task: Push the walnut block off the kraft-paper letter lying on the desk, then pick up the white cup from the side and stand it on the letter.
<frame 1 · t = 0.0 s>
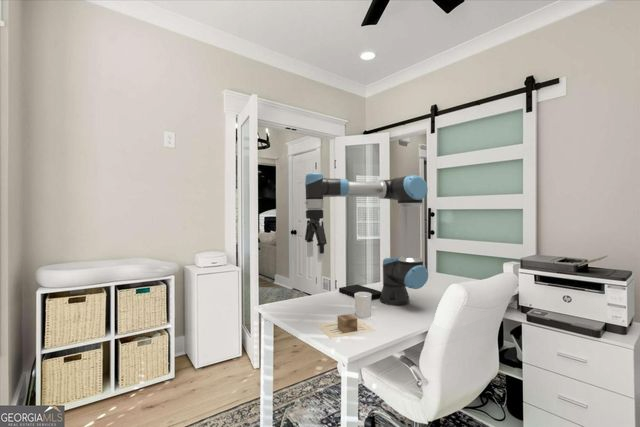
hand: (315, 258, 134), 28 cm above the table, tool pointing down, fingers open, 13 cm apart
letter: (345, 328, 129), on the table
external hard drive: (361, 295, 178), on the table
block: (347, 329, 127), resting on letter
white cup: (363, 316, 143), on the table
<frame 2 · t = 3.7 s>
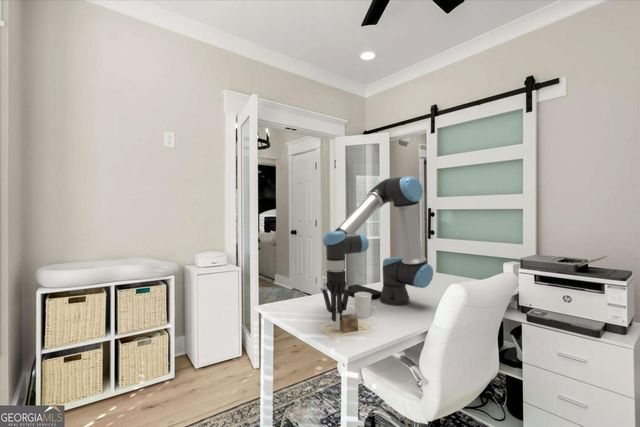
hand: (336, 328, 125), 1 cm above the table, tool pointing down, fingers closed
block: (347, 329, 127), resting on letter, touching gripper
everything else where it was.
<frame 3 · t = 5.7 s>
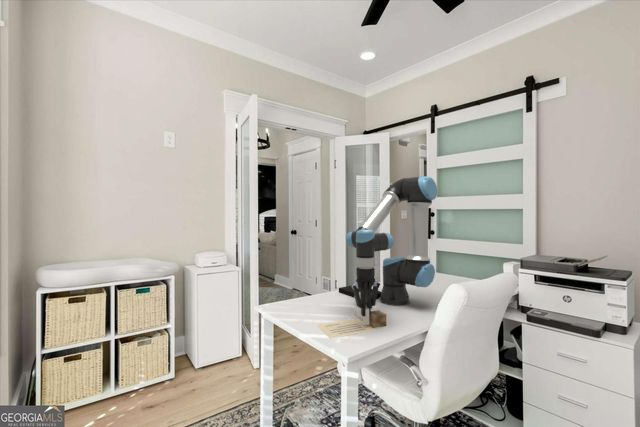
hand: (366, 323, 130), 1 cm above the table, tool pointing down, fingers closed
block: (376, 324, 132), on the table, touching gripper
everything else where it was.
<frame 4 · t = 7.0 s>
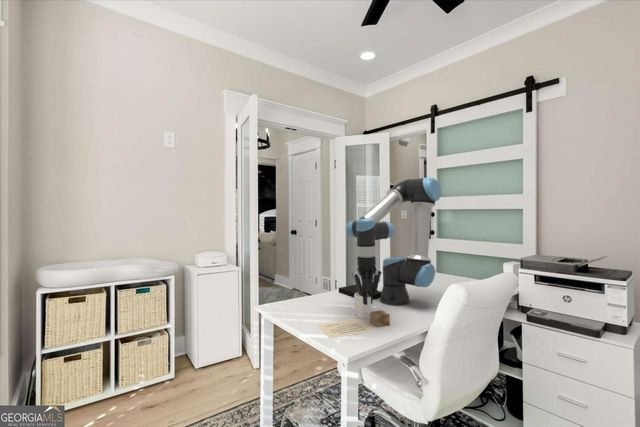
hand: (368, 311, 130), 6 cm above the table, tool pointing down, fingers closed
block: (379, 324, 132), on the table
everything else where it was.
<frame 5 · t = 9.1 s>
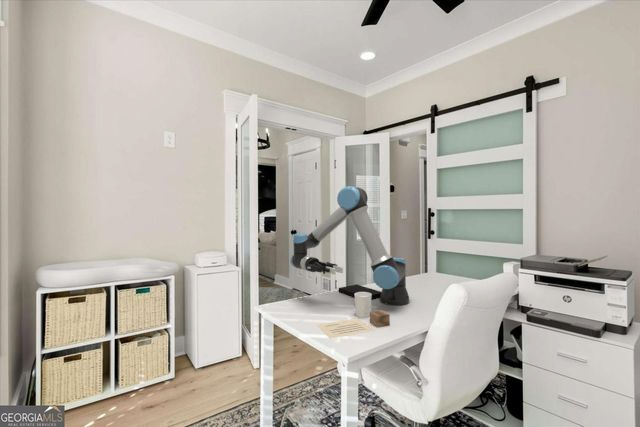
hand: (338, 270, 147), 20 cm above the table, tool horizontal, fingers open, 4 cm apart
nothing on the table moved.
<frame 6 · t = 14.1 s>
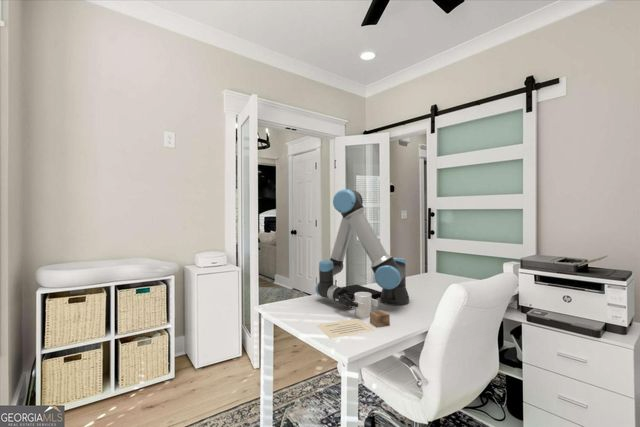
hand: (370, 305, 139), 6 cm above the table, tool horizontal, fingers closed on white cup, 7 cm apart
white cup: (363, 316, 143), on the table, touching gripper
everything else where it was.
when the fingers open (6 cm above the table, at t = 20.1 s): white cup stays where it is, resting on letter.
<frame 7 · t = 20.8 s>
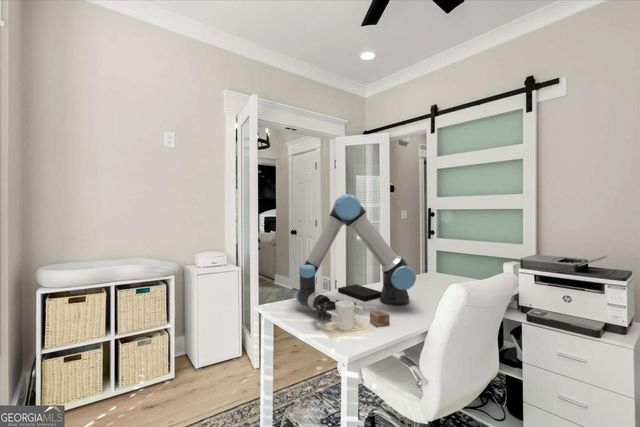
hand: (350, 315, 126), 6 cm above the table, tool horizontal, fingers open, 13 cm apart
white cup: (345, 328, 129), resting on letter
everything else where it was.
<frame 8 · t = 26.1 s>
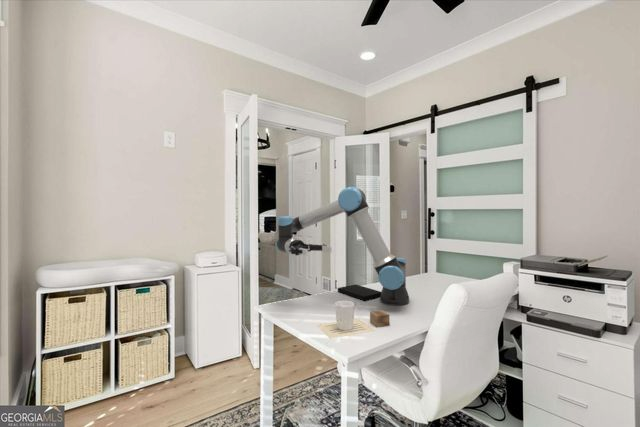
hand: (319, 251, 143), 30 cm above the table, tool horizontal, fingers open, 13 cm apart
nothing on the table moved.
at the end: white cup inside the target area (0.1 cm from its centre), resting on letter; white cup tilted 0°; block touching table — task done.
